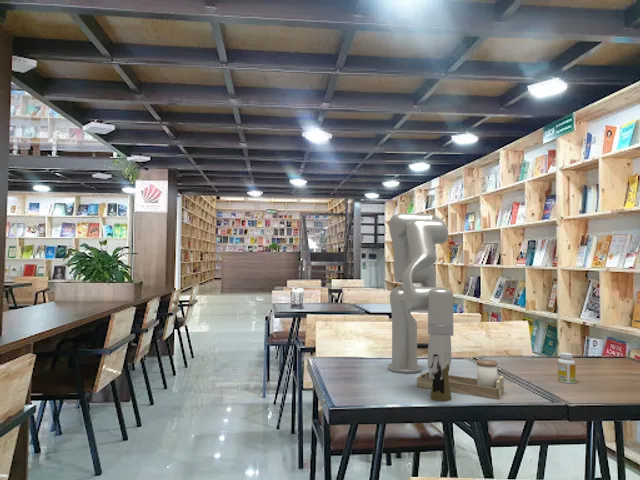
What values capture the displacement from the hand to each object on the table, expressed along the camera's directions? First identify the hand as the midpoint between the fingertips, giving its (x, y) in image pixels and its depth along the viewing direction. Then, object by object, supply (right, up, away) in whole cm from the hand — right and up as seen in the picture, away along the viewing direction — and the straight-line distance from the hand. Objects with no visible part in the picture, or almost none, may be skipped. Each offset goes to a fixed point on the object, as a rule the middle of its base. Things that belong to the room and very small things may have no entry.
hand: (440, 390), depth 134 cm
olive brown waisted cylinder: (0, -2, 0) cm, 2 cm away
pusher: (+1, -3, +14) cm, 14 cm away
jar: (+16, -3, +5) cm, 17 cm away
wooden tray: (+9, -3, +10) cm, 13 cm away
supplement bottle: (+50, -4, +21) cm, 54 cm away
